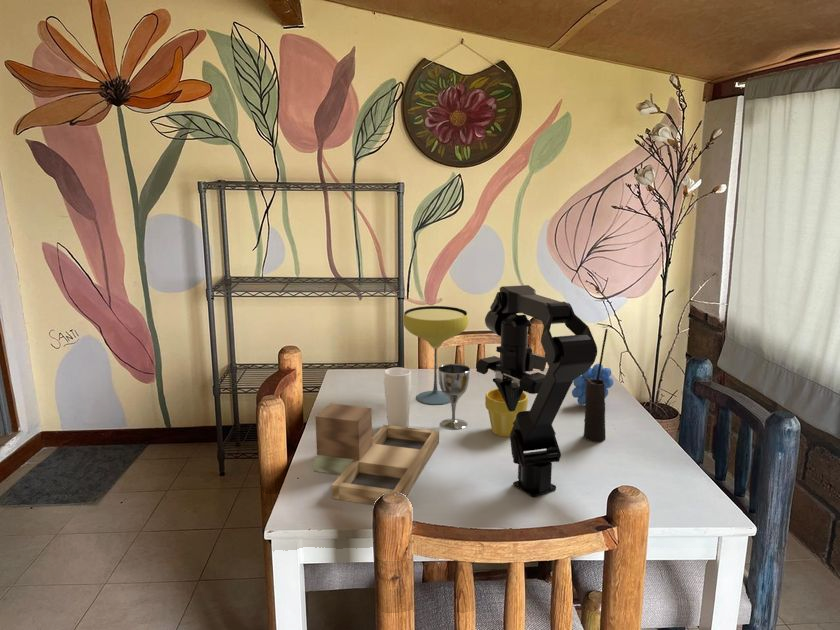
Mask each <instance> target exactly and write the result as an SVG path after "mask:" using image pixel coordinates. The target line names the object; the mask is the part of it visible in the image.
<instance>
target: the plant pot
mask: <svg viewBox="0 0 840 630" xmlns="http://www.w3.org/2000/svg"><path fill="white" fill-rule="evenodd" d="M484 397H485V403H484V404H485V409H486V410H487V411H488V416H489V423H490V427H491V432H492V433H493V434H495V435H496V436H499V437H506V438H507V437H509V438H510V433H511V430H512V428H513V426H514V425H513V422H514V421H515V419H516V415H517V414H518V412H521V411H528V410H527V409H528V401H529V400H528V398H529V397H528V394H527V392H525V391H523V393H522V395H521V397H520V399H519V402H518V404H517V406H516V409H515V411H512V412H511V411H509V410H508V408H507V406H506V403H505V401H504V399H503V397H502V395H501V393H500V391H499V389H498V387H497V388H493V389H490V390H488V391H487V392H486V393H485V396H484Z"/></svg>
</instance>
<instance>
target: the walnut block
mask: <svg viewBox="0 0 840 630" xmlns="http://www.w3.org/2000/svg"><path fill="white" fill-rule="evenodd" d="M372 410H373V408H372V407H367V406H355V405H347V404H338V403H329V404H327V406H325V408H323V409H322V410H320V411H319V413H318V414H316V415H315V416H314V417H315V437H316V438H315V439H316V456H317V455H323V456H331V457H338V458H346V459H353V460H360V459H361V458H362V457H363V456H364V454H365V453H366V452H367V451H368V450H369V448H370V447H371V446H372V438H373V421H372V420H373V417H372V415H373V413H372V412H373V411H372Z"/></svg>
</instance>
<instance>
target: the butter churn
mask: <svg viewBox="0 0 840 630" xmlns="http://www.w3.org/2000/svg"><path fill="white" fill-rule="evenodd" d="M607 334H608V328H606V329H605V331H604V336H603V337H604V338H603V341H602V346H601V353H600V357H599V358H600V359H599V363H598V364H599V368H598V374H597V379H596V380H589V379H588V378H585V381H587V386H586V398H585V404H584V420H583V421H584V425H583V427H584V428H583V429H584V430H583V437H584V438H585V439H586V440H587V441H589V442H593V443H601V442H604V441H606V398H605V382H604V381H602V380H599V375H600V370H601V365H603V364H602V363H603V359H604V357H603V356H604V351H605V345H606V340H607V336H608V335H607Z"/></svg>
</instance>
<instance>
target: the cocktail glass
mask: <svg viewBox="0 0 840 630" xmlns="http://www.w3.org/2000/svg"><path fill="white" fill-rule="evenodd" d="M402 315H403V317H402V323H403V326H404V328H405V329H406V330H407V331H408V332H409V333H410V334H412V335H413V336H415V337H418V338H420V339H422V340H424V341H426V342H427V343H428V344H429V345H430V346H431V348H432V349H434V366H433V368H434V375H433V380H434V381H433V389H432V390H427V391H423V392H420V393H419V394H417V395H416V400H417V401H418V402H420V403H421V404H426V405H429V406H430V405H431V406H432V405H433V406H439V405H446V404H451V402H450V400H449V399H448V398H447V396H446V395H445V394H444V393H443V392H442V390H439V388H438V377H437V376H438V372H437V370H438V369H437V368H438V364H437V363H438V359H437V358H438V357H437V353H438V352H437V349H439V348H440V347H441V346H442V344H443V343H444V342H446V341H447V340H449V339H451V338H454V337H456V336H458V335H460V334H462V333H463V332H464V331H465V330H466V329H467V327H468V325H469V314H468V312H467V311H466V310H464V309H462V308H459V307H453V306H442V305H440V306H439V305H425V306H417V307H412V308H409V309H407V310H405V311H404V313H403V314H402Z"/></svg>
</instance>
